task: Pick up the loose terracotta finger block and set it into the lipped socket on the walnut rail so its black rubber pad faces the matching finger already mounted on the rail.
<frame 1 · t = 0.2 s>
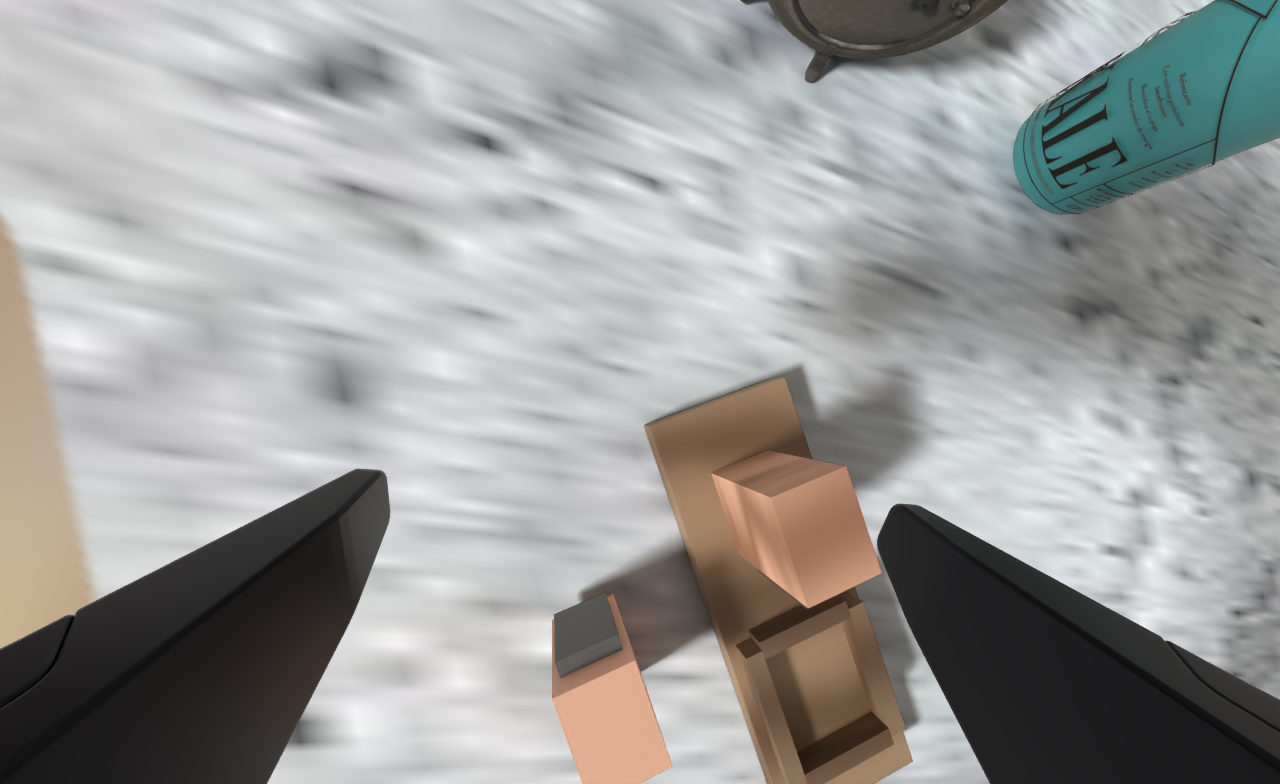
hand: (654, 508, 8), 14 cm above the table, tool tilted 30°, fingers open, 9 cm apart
finger: (597, 646, 22), on the table
beverage bottle: (1026, 176, 28), on the table
rail: (772, 589, 24), on the table
alarm clock: (812, 48, 25), on the table
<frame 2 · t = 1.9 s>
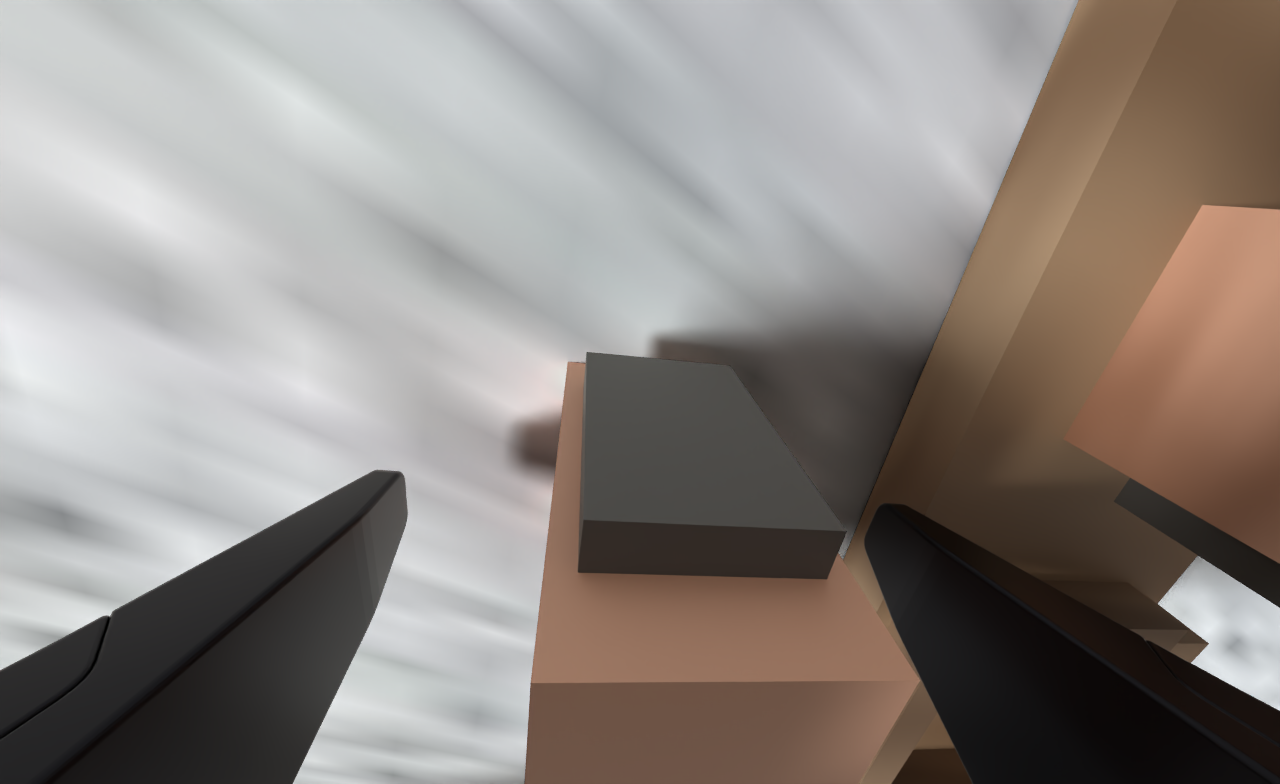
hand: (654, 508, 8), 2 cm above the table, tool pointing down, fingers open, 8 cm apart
finger: (634, 458, 10), on the table
rail: (996, 517, 11), on the table
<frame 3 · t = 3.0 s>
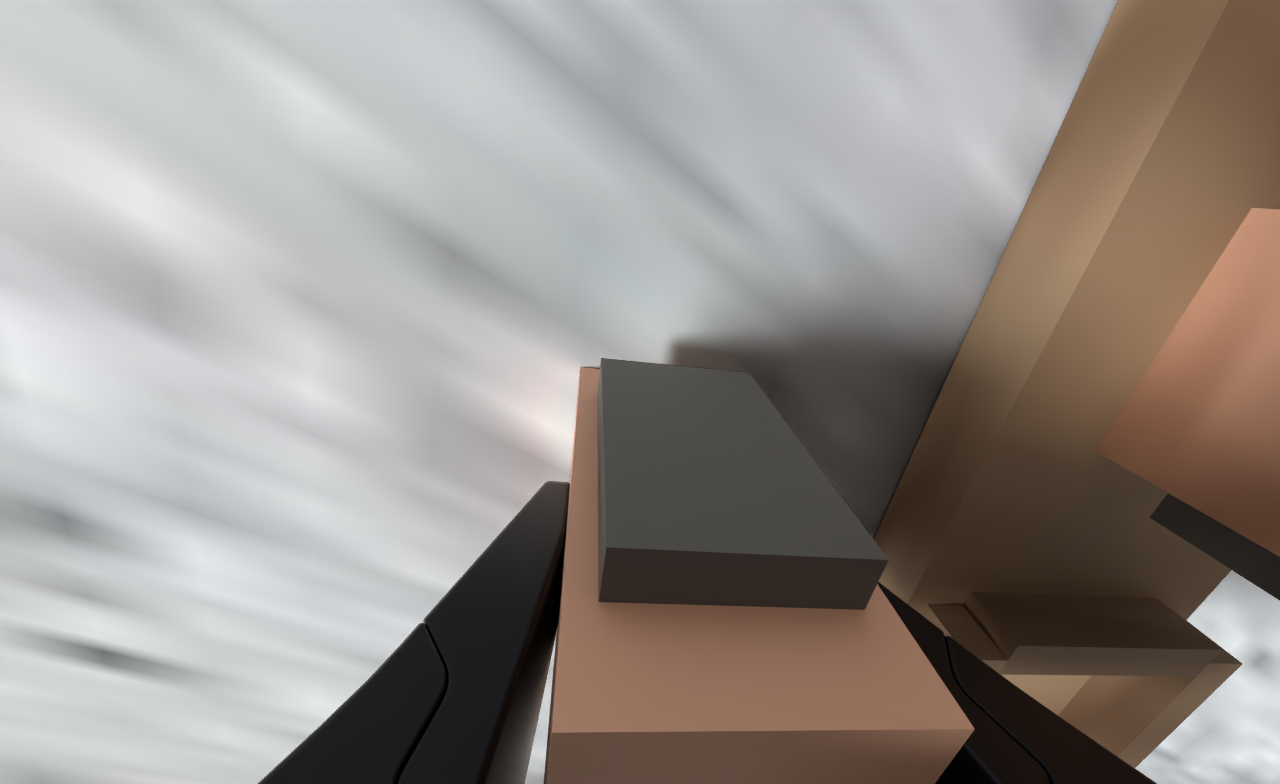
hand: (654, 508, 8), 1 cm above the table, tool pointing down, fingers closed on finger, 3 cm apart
finger: (647, 466, 9), on the table, touching gripper
rail: (1018, 528, 11), on the table
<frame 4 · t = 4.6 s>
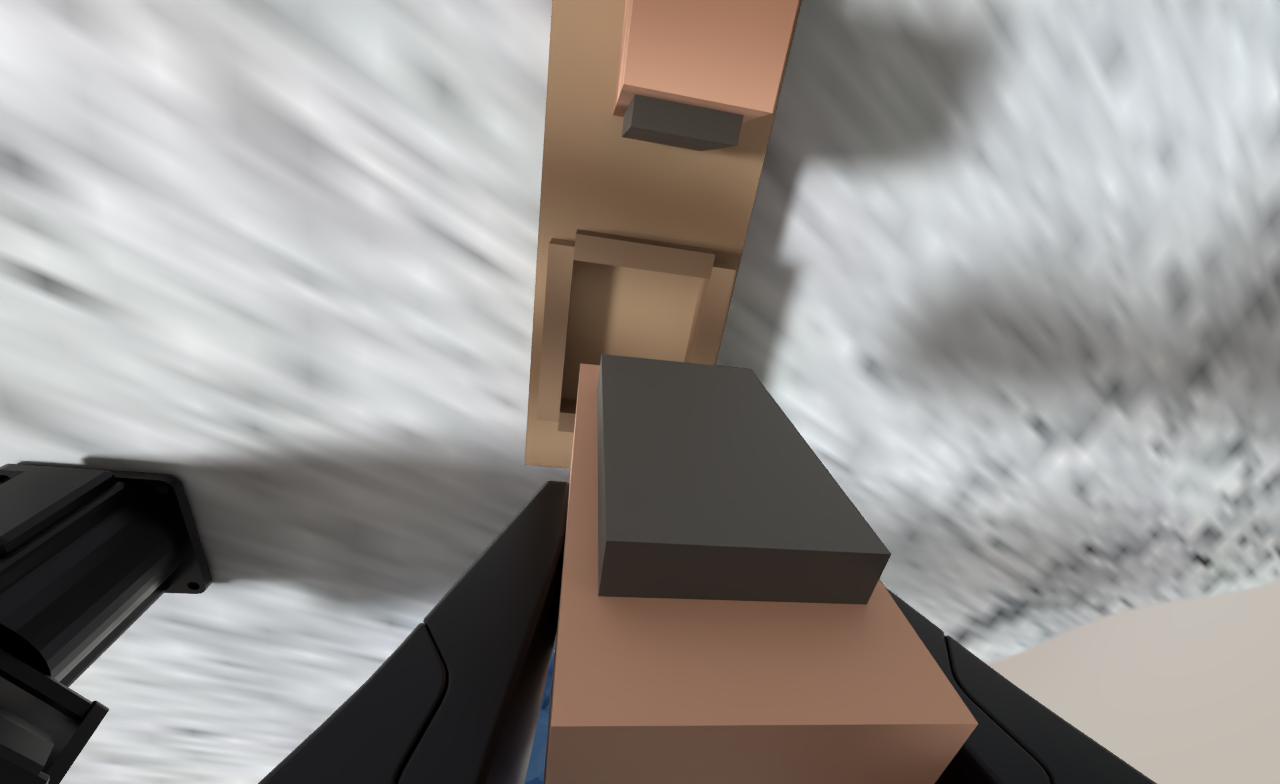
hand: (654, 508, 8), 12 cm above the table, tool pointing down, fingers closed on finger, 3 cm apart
grapes: (526, 640, 26), on the table
finger: (647, 463, 9), point 10 cm above the table, touching gripper
rail: (641, 220, 17), on the table
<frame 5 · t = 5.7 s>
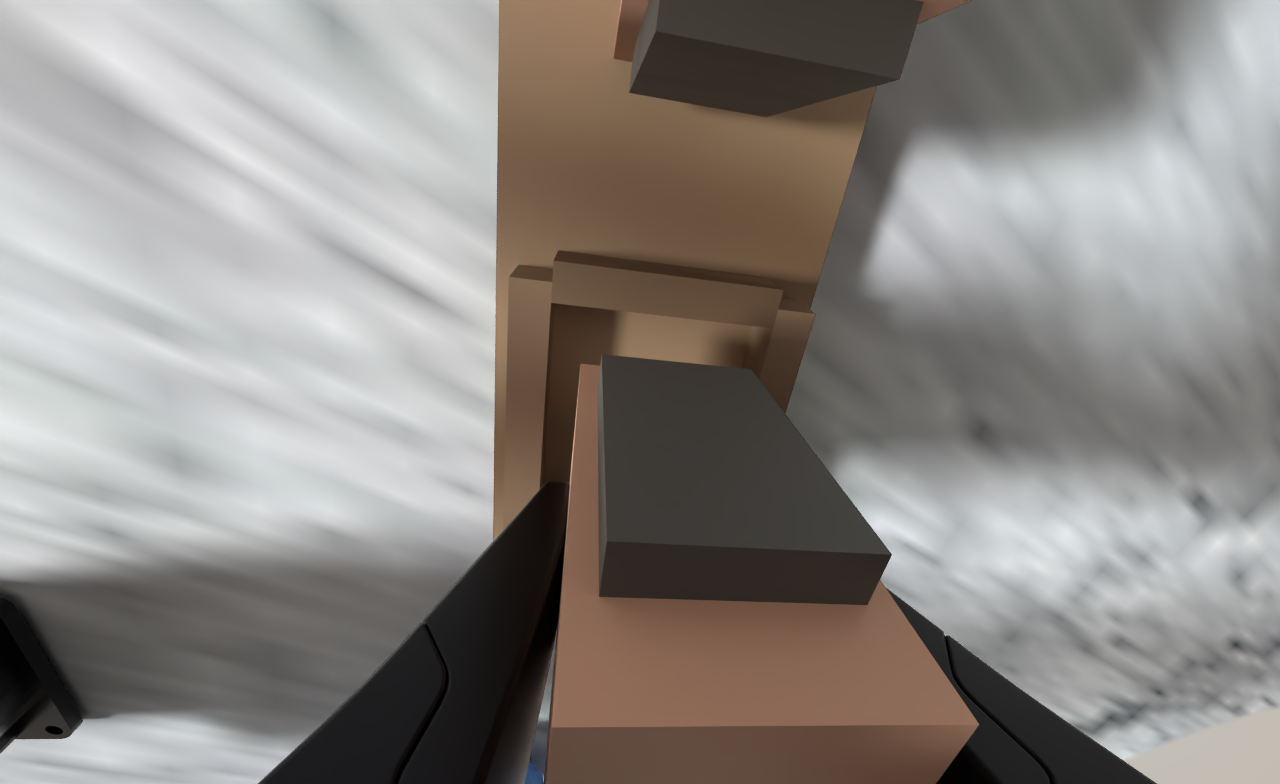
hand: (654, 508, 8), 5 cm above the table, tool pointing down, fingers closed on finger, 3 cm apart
grapes: (509, 766, 21), on the table
finger: (647, 463, 9), point 4 cm above the table, touching gripper
rail: (659, 233, 11), on the table
when the fingers open (4 cm above the table, at t = 6.5 s): finger drops 2 cm, resting on rail.
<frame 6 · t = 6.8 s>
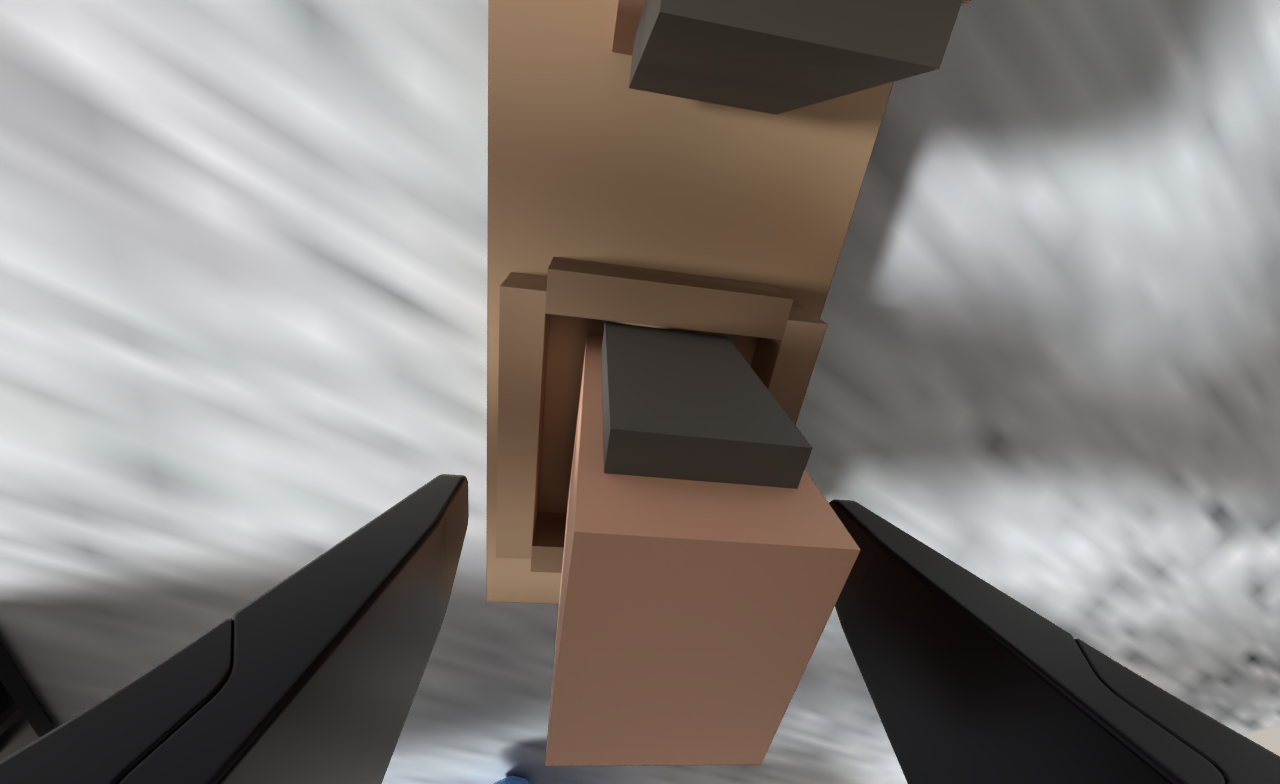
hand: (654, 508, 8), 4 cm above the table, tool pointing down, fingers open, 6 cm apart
finger: (641, 421, 11), point 1 cm above the table, touching rail
rail: (660, 237, 11), on the table
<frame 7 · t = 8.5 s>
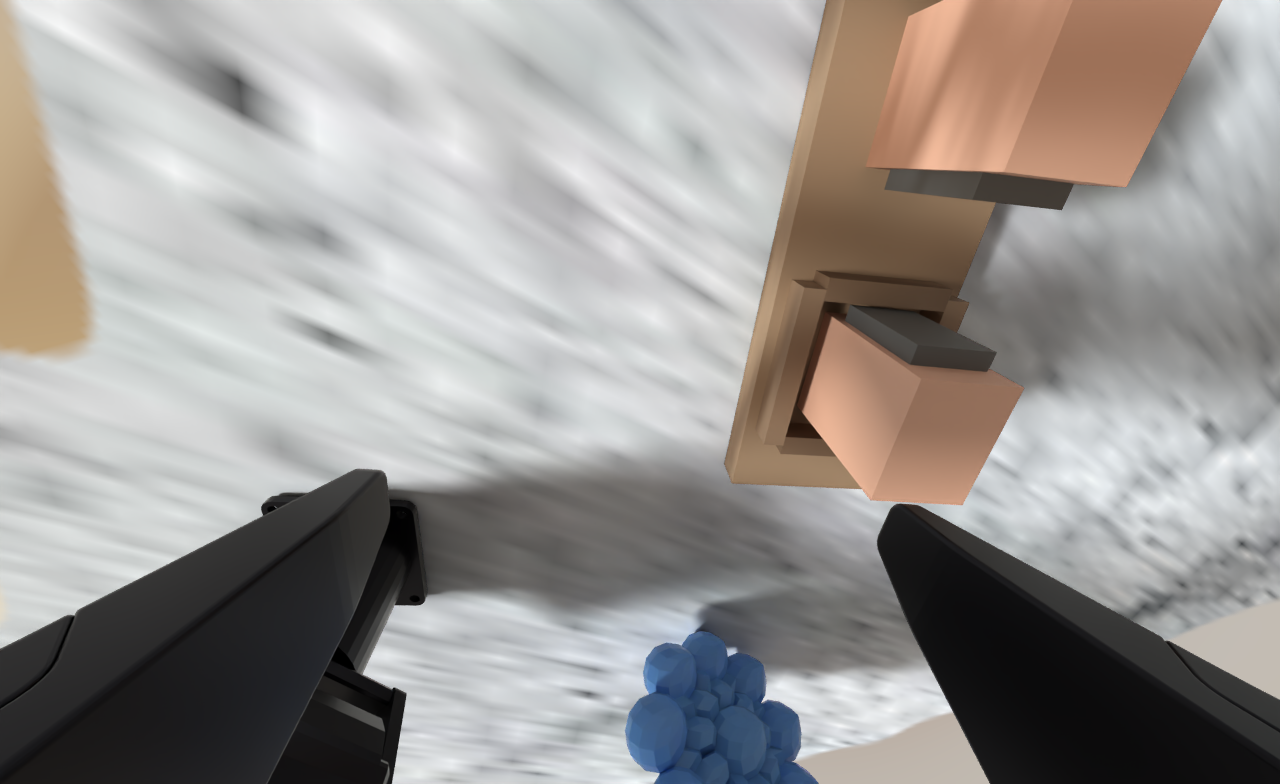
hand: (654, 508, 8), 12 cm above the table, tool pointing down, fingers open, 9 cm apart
grapes: (692, 641, 28), on the table
finger: (846, 364, 19), point 1 cm above the table, touching rail
rail: (858, 255, 18), on the table
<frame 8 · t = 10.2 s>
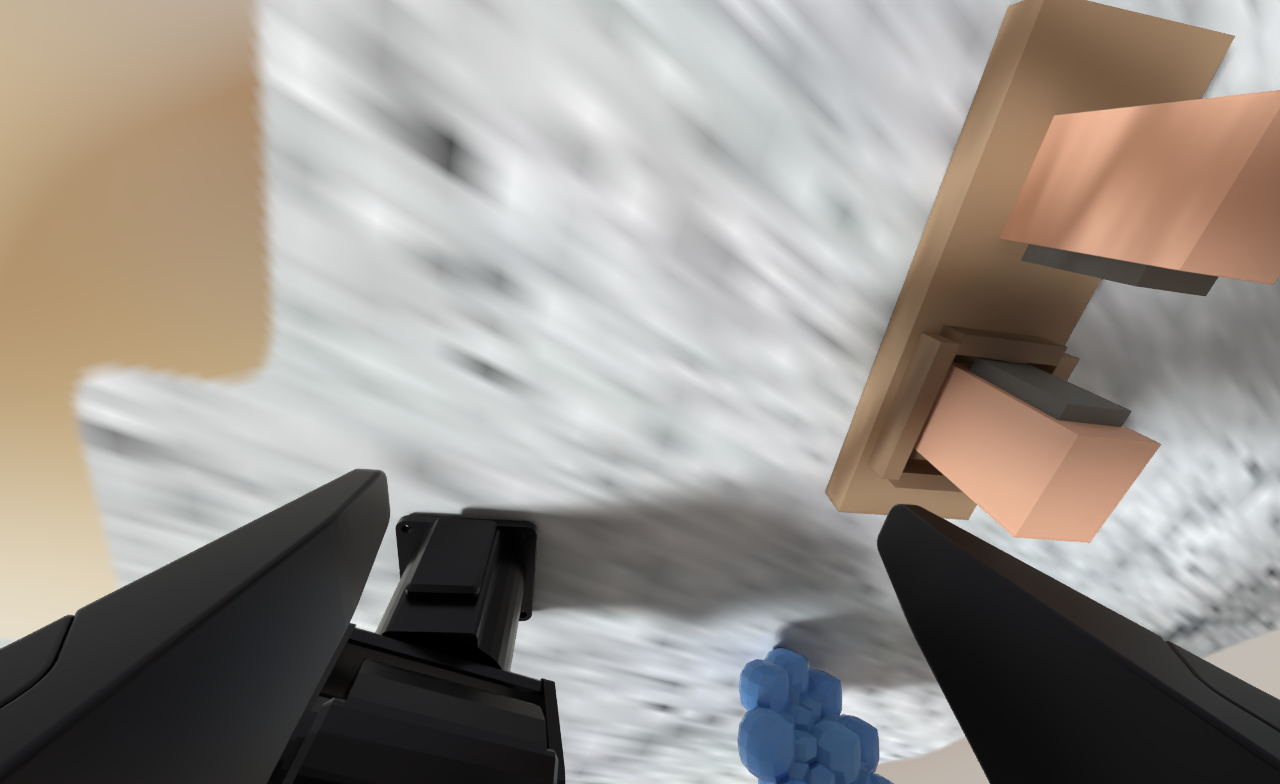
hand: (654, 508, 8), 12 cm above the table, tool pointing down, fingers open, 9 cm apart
grapes: (768, 657, 30), on the table
finger: (956, 407, 21), point 1 cm above the table, touching rail
rail: (971, 310, 20), on the table
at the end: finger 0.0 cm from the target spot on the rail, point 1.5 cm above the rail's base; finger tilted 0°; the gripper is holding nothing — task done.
